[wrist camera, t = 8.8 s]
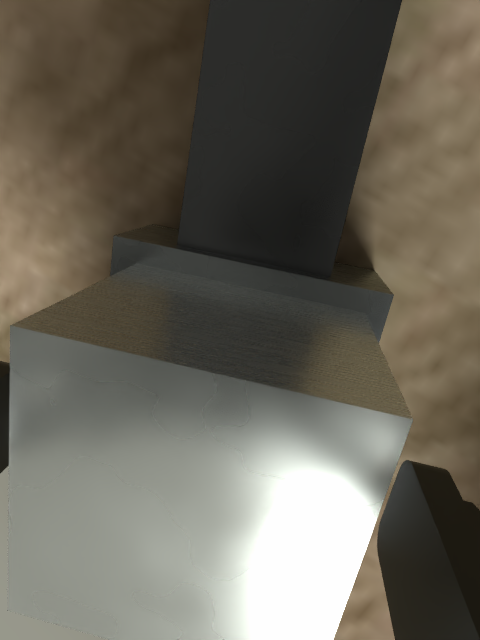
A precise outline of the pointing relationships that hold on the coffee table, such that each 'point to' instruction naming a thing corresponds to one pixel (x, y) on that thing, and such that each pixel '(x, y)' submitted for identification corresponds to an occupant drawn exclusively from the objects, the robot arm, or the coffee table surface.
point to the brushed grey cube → (195, 459)
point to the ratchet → (278, 152)
